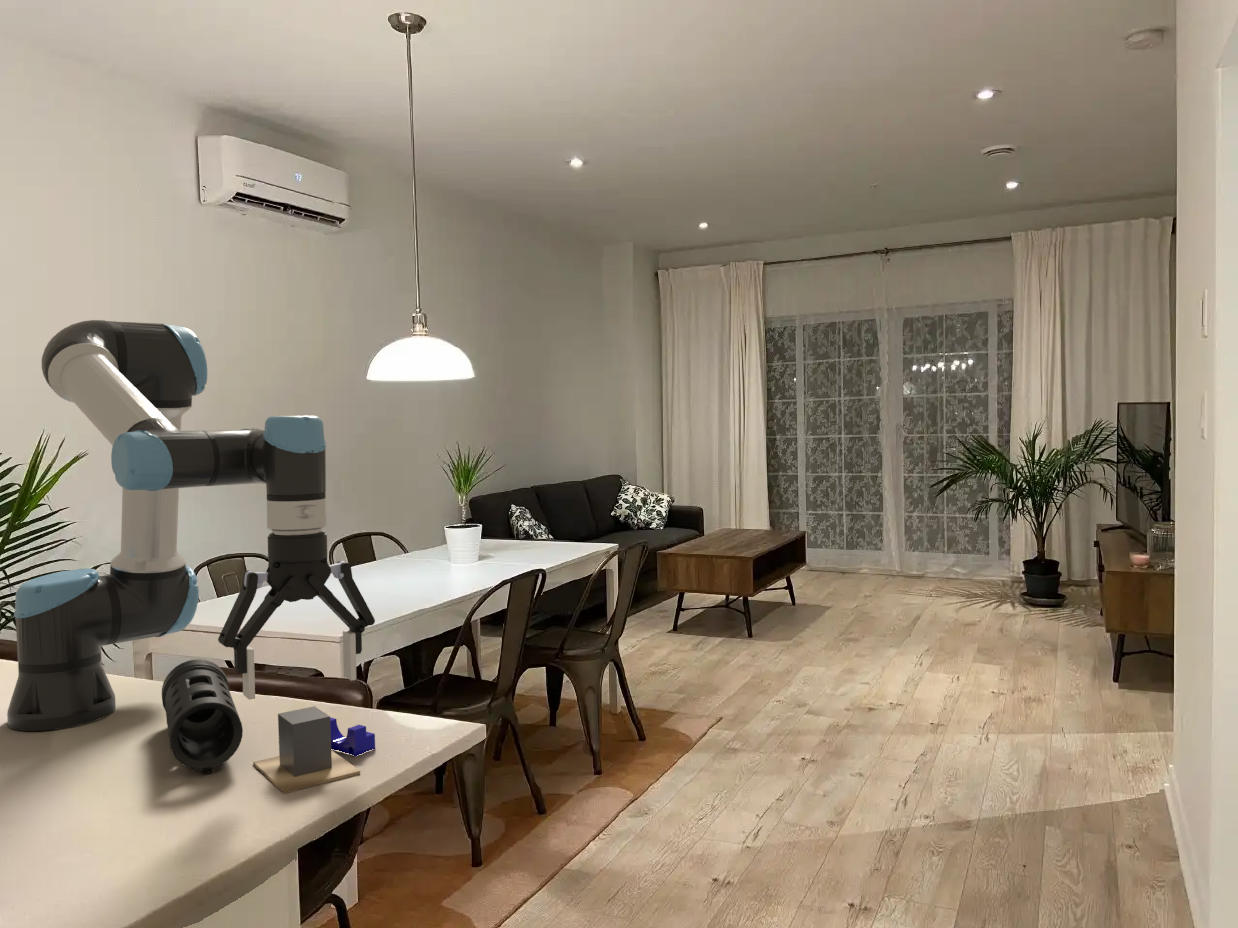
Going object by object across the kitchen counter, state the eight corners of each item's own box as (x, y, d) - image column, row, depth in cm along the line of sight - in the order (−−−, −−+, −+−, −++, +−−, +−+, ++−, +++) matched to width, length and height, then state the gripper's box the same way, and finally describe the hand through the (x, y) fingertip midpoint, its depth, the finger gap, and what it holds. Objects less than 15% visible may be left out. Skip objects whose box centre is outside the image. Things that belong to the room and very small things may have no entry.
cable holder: (375, 750, 132) (374, 723, 132) (355, 758, 130) (354, 730, 129) (339, 740, 137) (338, 714, 137) (319, 748, 134) (318, 720, 134)
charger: (276, 761, 127) (274, 710, 127) (312, 752, 130) (310, 703, 130) (294, 776, 121) (292, 724, 121) (331, 767, 124) (330, 716, 124)
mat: (253, 764, 127) (253, 761, 127) (325, 748, 133) (324, 745, 133) (284, 793, 117) (283, 790, 117) (360, 773, 123) (360, 770, 123)
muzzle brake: (168, 784, 121) (165, 706, 121) (162, 725, 146) (159, 660, 146) (246, 770, 126) (243, 695, 125) (227, 715, 150) (225, 652, 150)
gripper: (205, 542, 113) (210, 712, 114) (396, 526, 128) (399, 676, 130) (190, 535, 119) (195, 697, 120) (374, 521, 134) (377, 665, 136)
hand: (301, 687), depth 125 cm, fingers open, 13 cm apart
